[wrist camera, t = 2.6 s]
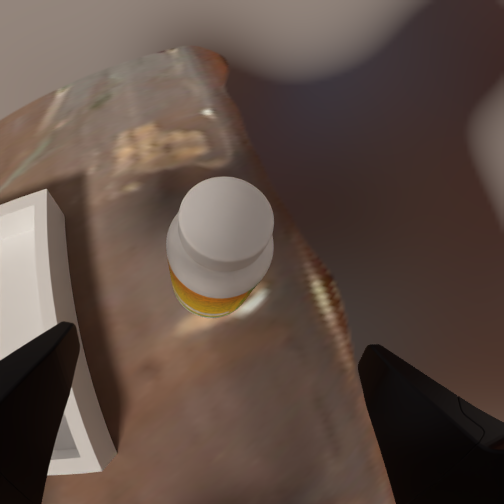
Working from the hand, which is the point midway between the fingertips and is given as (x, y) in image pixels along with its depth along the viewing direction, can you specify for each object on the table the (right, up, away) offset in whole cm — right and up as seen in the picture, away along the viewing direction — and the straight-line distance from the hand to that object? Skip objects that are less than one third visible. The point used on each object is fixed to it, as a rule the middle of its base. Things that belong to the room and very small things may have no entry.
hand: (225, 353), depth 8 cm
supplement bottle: (-2, +1, +13) cm, 13 cm away
